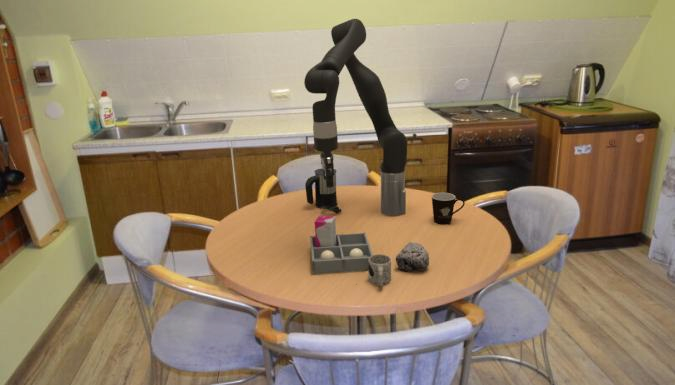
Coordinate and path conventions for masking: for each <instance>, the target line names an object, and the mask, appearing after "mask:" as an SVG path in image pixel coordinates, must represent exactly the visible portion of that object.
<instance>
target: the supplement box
mask: <svg viewBox="0 0 675 385" xmlns="http://www.w3.org/2000/svg"><path fill="white" fill-rule="evenodd" d="M336 221H337V220H336V216H335V215H318V216H317V218H316V219H315V220H314V233H315V234H314V236H315V238H316V248H317V247H332V246H337V244H336V235H337V231H336V230H337V226H336V225H337V224H336Z"/></svg>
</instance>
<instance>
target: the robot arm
mask: <svg viewBox="0 0 675 385" xmlns="http://www.w3.org/2000/svg"><path fill="white" fill-rule="evenodd" d="M330 32H331V33H330V34H331V39H332V43H333V44H334V45H333V46H332V47H331V48H330V49H329V50H328V51H327V52H326V53H325V54H324V56H323V58H322V60H321V61H319V62H318V63H316V64H315V65H314V66H313V67H311V68H310V69H309V70H308V71H307V72H306V74H305V77H304V79H303V80H304V82H303V84H304V88H305V90H306V91H307V92H308V93H311V94H317V95H318V94H325V98H324V99H323V100H317V101H315V102H313V104H312V107H311V108H312V119H313V121H312V122H313V123H312V124H313V125H312V132H313V146H314V150H315V151H316V152H320V155H319V157H320V164H321V168H323V176H324V179H325V180H326V186H327V187H328V188H329V187H333V176H334V169H335V164H334V161H335V160H334V159H335V157H334V155H333V153H332V151H336V150H338V148H339V142H338V141H339V138H338V127H337V126H338V125H337V120H336V119H337V118H336V100H337V95H338V91H339V87H340V77H339V75H340V74H341V72H342V71H343V69H344V67H346V69H347V71H348V74H349V75H350V78H351V81H352V83H353V85H354V87H355V90H356V93H357V94H358V97H359V99H360V102H361V103H362V105H363V107H364V110H365V111H366V113H367V115H368V117H369V119H370V121H371V123H372V125H373V128H374V131H375V135H376V139H377V140H378V141H377V142H378V144H379V146H380V148H382V151H383V153H382V161H381V164H380V213H381V214H382V215H384V216H386V217H397V216H398V217H399V216H402V215H405V214H406V213H407V212H406V210H407V209H406V206H407V205H406V203H407V201H406V199H407V193H406V189H405V186H406V185H405V179H406V178H405V176H406V175H405V173H406V171H405V170H406V166H407V160H408V159H407V158H408V139H407V136H406V135H405V134H404V133H403V132H401V131H400V130H399V129H398V127H397V126H396V124H395V123H394V121H393V118H392V117H391V114H390V110H389V107H388V106H389V105H388V99H387V95H386V94H387V93H386V92H385V89H384V87H383V84H382V81H381V80H380V77H379V76H378V75H377V73H375V72H374V71H373V70H372V69H370V68H369V67H367V65H364V64H363V63H362V62H361V61H360V60H359V59H358V57H357V55H355V52H356V51H357V50H358V49H359V48H360V47H362V46H363V44H364V43H365V42H366V40H367V30H366V27H365V25H364V23H363V22H362V21H361V20H360V19H358V18H351V19H348V20H347V21H344V22H341V23H339V24H336V25H334V26H333V27H332V28H331V31H330ZM330 170H331V172H330Z"/></svg>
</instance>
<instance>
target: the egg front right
mask: <svg viewBox="0 0 675 385" xmlns="http://www.w3.org/2000/svg"><path fill="white" fill-rule="evenodd" d="M334 258H335V257H334V254H333V252H332V251H329V250H326V251H324V252H322V254H321V260H331V259H334Z"/></svg>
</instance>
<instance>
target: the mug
mask: <svg viewBox="0 0 675 385" xmlns="http://www.w3.org/2000/svg"><path fill="white" fill-rule="evenodd" d="M367 271H368V272H367V273H368V281H369V283H371V284H372V285H375V286H378V287H383V286H384V285H387V284H389V283H390V282H391V281H392V258H391V257H390V256H389V255H387V254H381V253H379V254H377V253H375V254H373V255H372V256H370V257H369V259H368V270H367Z"/></svg>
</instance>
